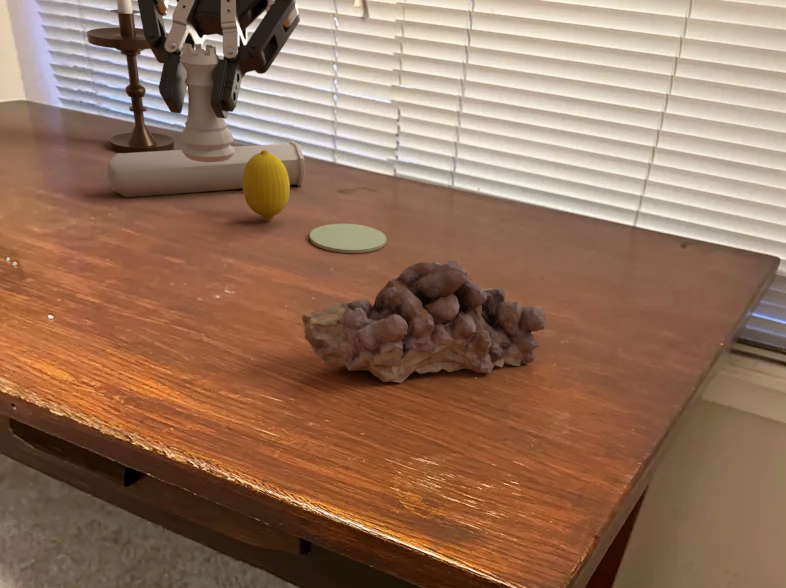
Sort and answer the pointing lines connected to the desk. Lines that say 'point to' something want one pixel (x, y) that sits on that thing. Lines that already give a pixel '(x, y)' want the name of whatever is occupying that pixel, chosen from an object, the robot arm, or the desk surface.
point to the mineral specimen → (426, 326)
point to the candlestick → (131, 80)
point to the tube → (193, 170)
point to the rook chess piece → (203, 109)
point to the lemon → (266, 184)
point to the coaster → (347, 238)
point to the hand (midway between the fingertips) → (195, 108)
